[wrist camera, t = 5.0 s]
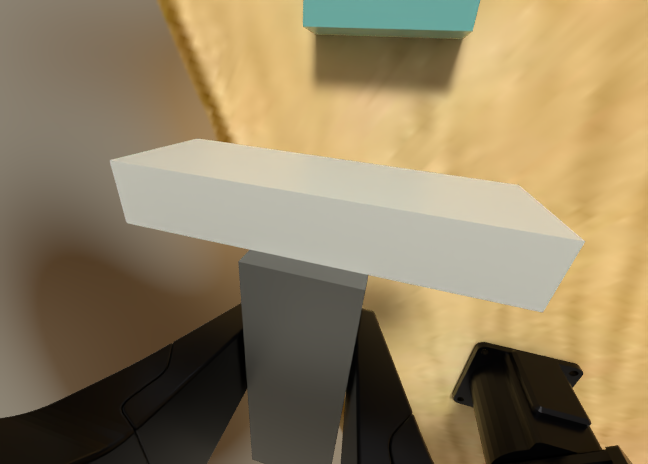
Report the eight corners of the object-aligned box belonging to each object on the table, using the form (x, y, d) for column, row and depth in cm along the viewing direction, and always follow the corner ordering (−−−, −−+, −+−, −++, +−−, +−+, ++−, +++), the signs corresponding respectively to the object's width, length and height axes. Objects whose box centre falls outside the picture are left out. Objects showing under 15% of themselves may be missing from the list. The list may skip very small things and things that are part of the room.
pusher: (423, 408, 12) (430, 523, 9) (223, 351, 13) (169, 429, 10) (518, 184, 7) (604, 258, 4) (197, 138, 9) (87, 166, 6)
